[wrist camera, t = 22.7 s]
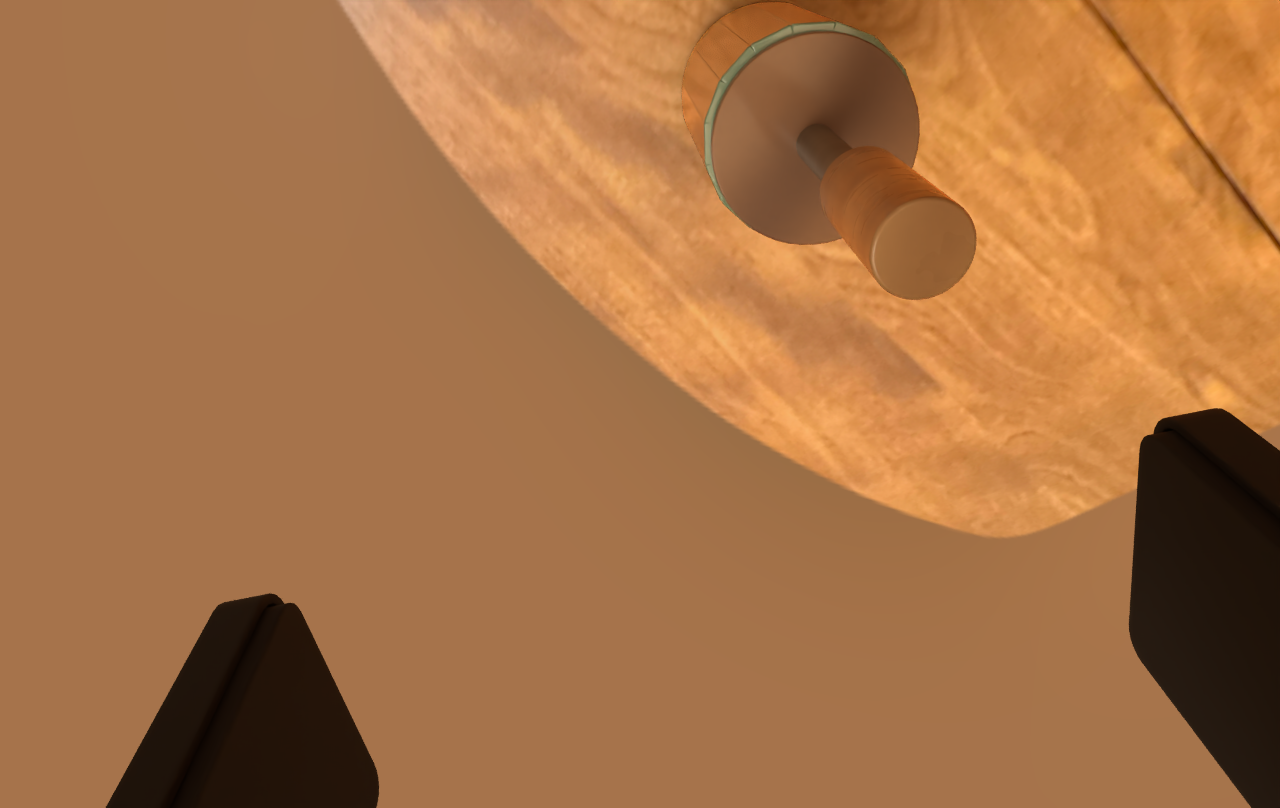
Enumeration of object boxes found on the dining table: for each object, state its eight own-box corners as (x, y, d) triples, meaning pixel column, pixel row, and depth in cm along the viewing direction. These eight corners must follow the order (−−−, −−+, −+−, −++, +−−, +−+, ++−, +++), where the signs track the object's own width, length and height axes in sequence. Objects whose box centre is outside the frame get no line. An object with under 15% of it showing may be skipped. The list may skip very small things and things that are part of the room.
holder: (658, 145, 37) (673, 203, 29) (717, -25, 34) (752, -12, 26) (806, 196, 38) (860, 266, 30) (875, 36, 36) (955, 67, 28)
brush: (665, 153, 36) (722, 345, 20) (722, -15, 34) (844, 38, 17) (814, 202, 38) (988, 423, 21) (880, 42, 35) (1143, 146, 18)
